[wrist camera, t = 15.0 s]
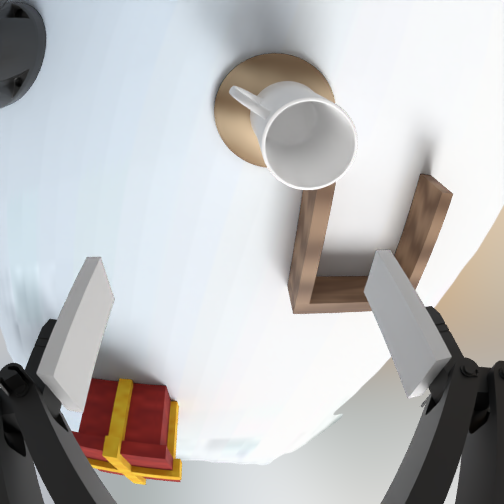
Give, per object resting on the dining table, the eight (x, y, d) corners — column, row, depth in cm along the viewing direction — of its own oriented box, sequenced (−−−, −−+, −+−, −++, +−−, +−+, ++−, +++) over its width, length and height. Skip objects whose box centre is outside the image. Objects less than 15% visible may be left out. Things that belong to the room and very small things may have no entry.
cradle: (307, 160, 38) (318, 178, 33) (430, 175, 40) (453, 193, 35) (287, 286, 50) (293, 313, 45) (393, 284, 52) (406, 308, 47)
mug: (211, 107, 33) (202, 131, 23) (258, 48, 29) (271, 45, 19) (291, 164, 38) (314, 210, 28) (337, 112, 34) (379, 141, 24)
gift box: (106, 415, 77) (96, 476, 60) (76, 369, 62) (55, 444, 46) (189, 423, 79) (187, 488, 62) (177, 379, 65) (171, 464, 48)
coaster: (217, 50, 30) (216, 50, 29) (340, 61, 31) (342, 62, 30) (213, 163, 38) (212, 166, 37) (325, 169, 39) (326, 171, 38)
